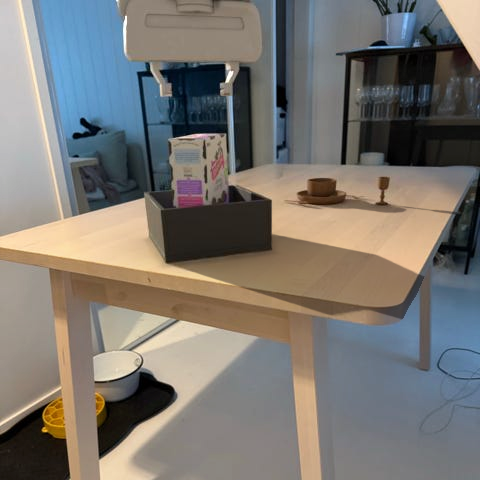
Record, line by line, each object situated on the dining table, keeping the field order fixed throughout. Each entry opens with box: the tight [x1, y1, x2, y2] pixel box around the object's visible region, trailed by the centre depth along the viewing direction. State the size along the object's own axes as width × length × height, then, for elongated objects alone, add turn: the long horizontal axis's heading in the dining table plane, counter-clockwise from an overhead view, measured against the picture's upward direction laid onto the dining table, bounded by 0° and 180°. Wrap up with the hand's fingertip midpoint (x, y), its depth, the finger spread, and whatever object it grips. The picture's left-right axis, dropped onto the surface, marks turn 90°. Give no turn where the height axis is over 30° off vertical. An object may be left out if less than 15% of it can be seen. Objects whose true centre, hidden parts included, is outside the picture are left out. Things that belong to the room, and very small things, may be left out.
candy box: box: [167, 133, 229, 208], centre depth 75 cm, size 14×6×16 cm, turn 168°
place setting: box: [283, 176, 391, 206], centre depth 108 cm, size 18×20×6 cm
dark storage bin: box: [143, 184, 273, 264], centre depth 78 cm, size 17×17×8 cm
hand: (196, 96), depth 70 cm, fingers open, 8 cm apart
